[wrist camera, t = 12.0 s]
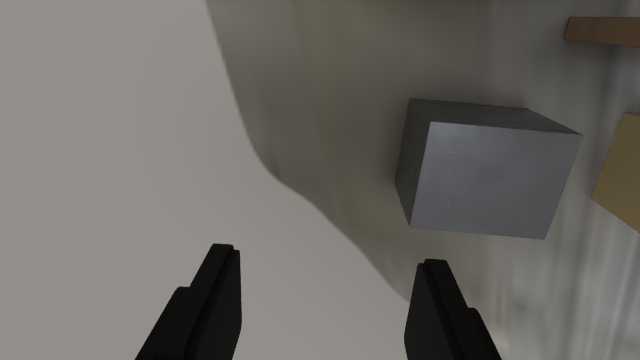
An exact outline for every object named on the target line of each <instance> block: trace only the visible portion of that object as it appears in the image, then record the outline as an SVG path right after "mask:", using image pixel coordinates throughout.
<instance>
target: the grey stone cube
mask: <svg viewBox="0 0 640 360" xmlns="http://www.w3.org/2000/svg"><path fill="white" fill-rule="evenodd" d="M582 137H583V135H582V134H580V133H578V132H576V131H573V130H571V129H569V128H567V127H565V126H563V125H561V124H559V123H557V122H555V121H552V120H550V119H548V118H546V117H544V116H542V115H540V114H538V113H536V112H534V111H532V110H529V109H526V108H515V107H504V106H492V105H481V104H470V103H459V102H448V101H436V100H425V99H414V98H409V104H408V110H407V115H406V121H405V127H404V133H403V138H402V144H401V150H400V156H399V161H398V167H397V173H396V179H395V187H396V190H397V193H398V196H399V199H400V202H401V204H402V207H403V210H404V213H405V216H406V219H407V222H408V224H409V227H412V228H423V229H434V230H445V231H456V232H467V233H478V234H489V235H500V236H511V237H522V238H534V239H545V237H546V235H547V232H548V229H549V227H550V224H551V221H552V218H553V216H554V213H555V210H556V208H557V205H558V202H559V199H560V197H561V194H562V191H563V189H564V186H565V183H566V180H567V178H568V175H569V172H570V170H571V167H572V164H573V161H574V159H575V156H576V153H577V151H578V148H579V145H580V142H581V140H582Z"/></svg>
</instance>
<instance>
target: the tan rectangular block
mask: <svg viewBox="0 0 640 360" xmlns="http://www.w3.org/2000/svg"><path fill="white" fill-rule="evenodd" d="M591 199H593V200H594V201H595V202H597V203H598V204H600V205H601V206H602V207H604V208H605V209H607V210H608V211H609V212H611V213H612V214H614V215H615V216H617V217H618V218H619V219H621V220H622V221H624V222H625V223H626V224H628V225H629V226H631V227H632V228H633V229H635V230H636V231H638V232H639V233H640V114H631V113H624V115H623V117H622V120H621V122H620V125H619V128H618V130H617V133H616V135H615V138H614V141H613V143H612V146H611V148H610V151H609V153H608V156H607V159H606V161H605V164H604V166H603V169H602V171H601V174H600V177H599V179H598V182H597V184H596V187H595V189H594V192H593V195H592V197H591Z"/></svg>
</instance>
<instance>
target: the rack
mask: <svg viewBox="0 0 640 360" xmlns="http://www.w3.org/2000/svg"><path fill="white" fill-rule="evenodd" d="M564 40H574V41H585V42H595V43H605V44H615V45H625V46H636V47H640V17H570V19H569V23H568V26H567V29H566V33H565V36H564Z"/></svg>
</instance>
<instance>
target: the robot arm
mask: <svg viewBox="0 0 640 360" xmlns="http://www.w3.org/2000/svg"><path fill="white" fill-rule="evenodd" d="M240 276H241V274H240V251H239V250H234V247H233V245H229V244H213V245H212V246H211V248H210V250H209V252H208V254H207V255H206V257H205V259H204V261H203V263H202V265H201V266H200V268H199V270H198V272H197V274H196V276H195V277H194V279H193V281H192V283H191V285H190V287H178V288H177V290H175V292H174V293H173V295H172V297H171V299H170V300H169V302H168V304H167V305H166V307H165V309H164V311H163V312H162V314H161V316H160V317H159V319H158V321H157V323H156V324H155V326H154V328H153V329H152V331H151V333H150V335H149V336H148V338H147V340H146V341H145V343H144V345H143V347H142V348H141V350H140V352H139V353H138V355H137V357H136V359H135V360H232V358H233V354H234V351H235V348H236V344H237V341H238V338H239V335H240V331H241V324H242V310H241V277H240ZM404 343H405V349H406V353H407V358H408V360H502V359H501V357H500V355H499V353H498V351H497V349H496V347H495V345H494V343H493V340H492V338H491V336H490V334H489V332H488V330H487V328H486V326H485V324H484V322H483V320H482V318H481V316H480V314H479V312H478V311H477V310H476V309H475V308H468V306H467V304H466V302H465V300H464V298H463V295H462V293H461V291H460V289H459V287H458V285H457V282H456V280H455V278H454V276H453V274H452V271H451V269H450V267H449V265H448V263H447V261H446V260H438V259H425V261H424V263H419V264H418V266H417V271H416V276H415V281H414V286H413V291H412V296H411V302H410V307H409V312H408V317H407V322H406V327H405V333H404Z"/></svg>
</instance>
